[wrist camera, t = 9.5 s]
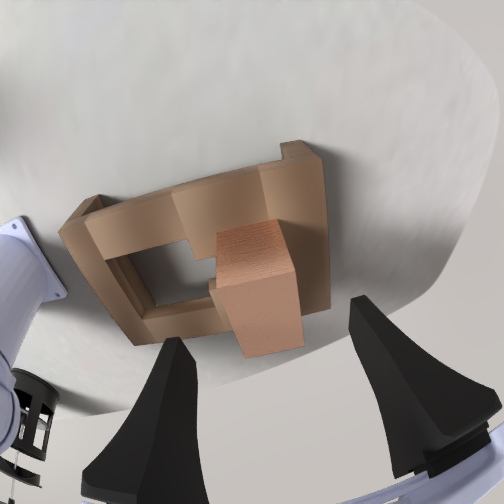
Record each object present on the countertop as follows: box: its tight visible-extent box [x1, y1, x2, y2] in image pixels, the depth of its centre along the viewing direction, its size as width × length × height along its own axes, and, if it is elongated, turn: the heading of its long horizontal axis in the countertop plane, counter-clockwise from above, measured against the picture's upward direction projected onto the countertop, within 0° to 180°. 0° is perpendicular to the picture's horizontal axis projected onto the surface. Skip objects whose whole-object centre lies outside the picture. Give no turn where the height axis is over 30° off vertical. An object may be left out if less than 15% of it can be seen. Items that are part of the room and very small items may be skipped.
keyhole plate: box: [58, 140, 331, 346], centre depth 17 cm, size 14×10×4 cm
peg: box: [216, 219, 304, 358], centre depth 15 cm, size 4×5×7 cm
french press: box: [0, 368, 59, 504], centre depth 21 cm, size 12×9×23 cm
